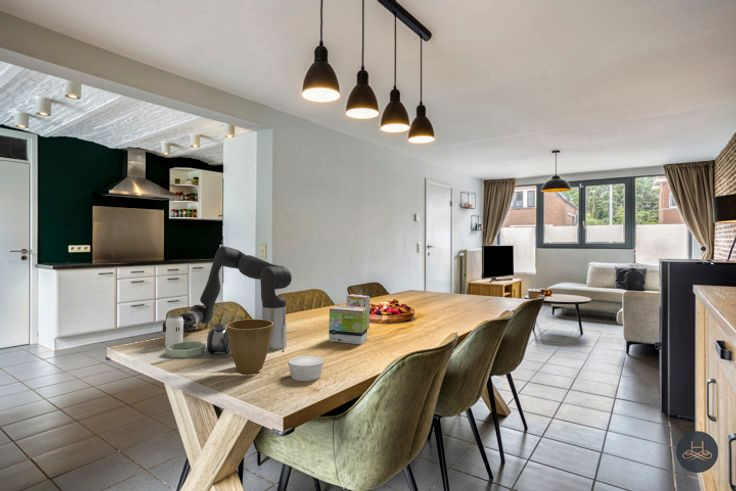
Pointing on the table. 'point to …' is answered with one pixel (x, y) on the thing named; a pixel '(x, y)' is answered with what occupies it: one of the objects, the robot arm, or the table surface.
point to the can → (173, 330)
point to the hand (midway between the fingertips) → (170, 329)
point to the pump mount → (191, 351)
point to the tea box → (348, 324)
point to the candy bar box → (359, 303)
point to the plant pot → (249, 343)
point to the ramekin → (305, 368)
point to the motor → (218, 339)
